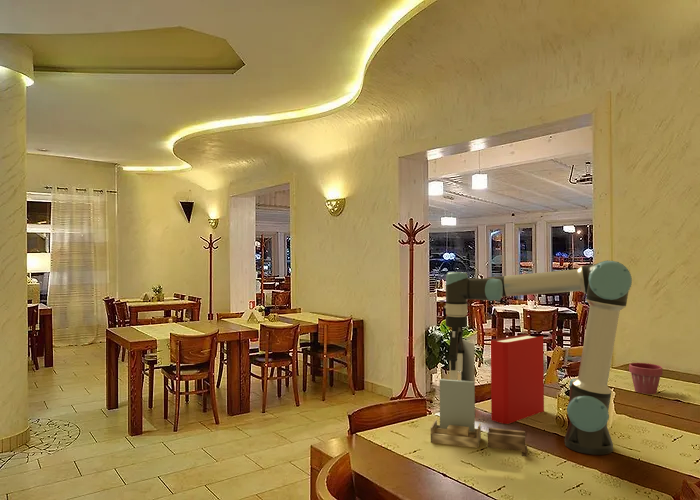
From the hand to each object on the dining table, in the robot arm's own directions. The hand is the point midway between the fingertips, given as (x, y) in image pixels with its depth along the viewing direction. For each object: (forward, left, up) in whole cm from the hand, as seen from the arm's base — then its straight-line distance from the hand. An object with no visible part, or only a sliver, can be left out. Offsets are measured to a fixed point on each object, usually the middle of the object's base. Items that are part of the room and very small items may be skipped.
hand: (456, 375), depth 185 cm
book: (-20, -39, -24) cm, 50 cm away
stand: (-17, +3, -23) cm, 29 cm away
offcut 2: (-2, +5, -22) cm, 23 cm away
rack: (0, +3, -23) cm, 24 cm away
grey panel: (0, 0, -22) cm, 22 cm away
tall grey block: (0, -37, -24) cm, 44 cm away
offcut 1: (-1, +5, -19) cm, 20 cm away
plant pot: (-78, -98, -24) cm, 127 cm away
